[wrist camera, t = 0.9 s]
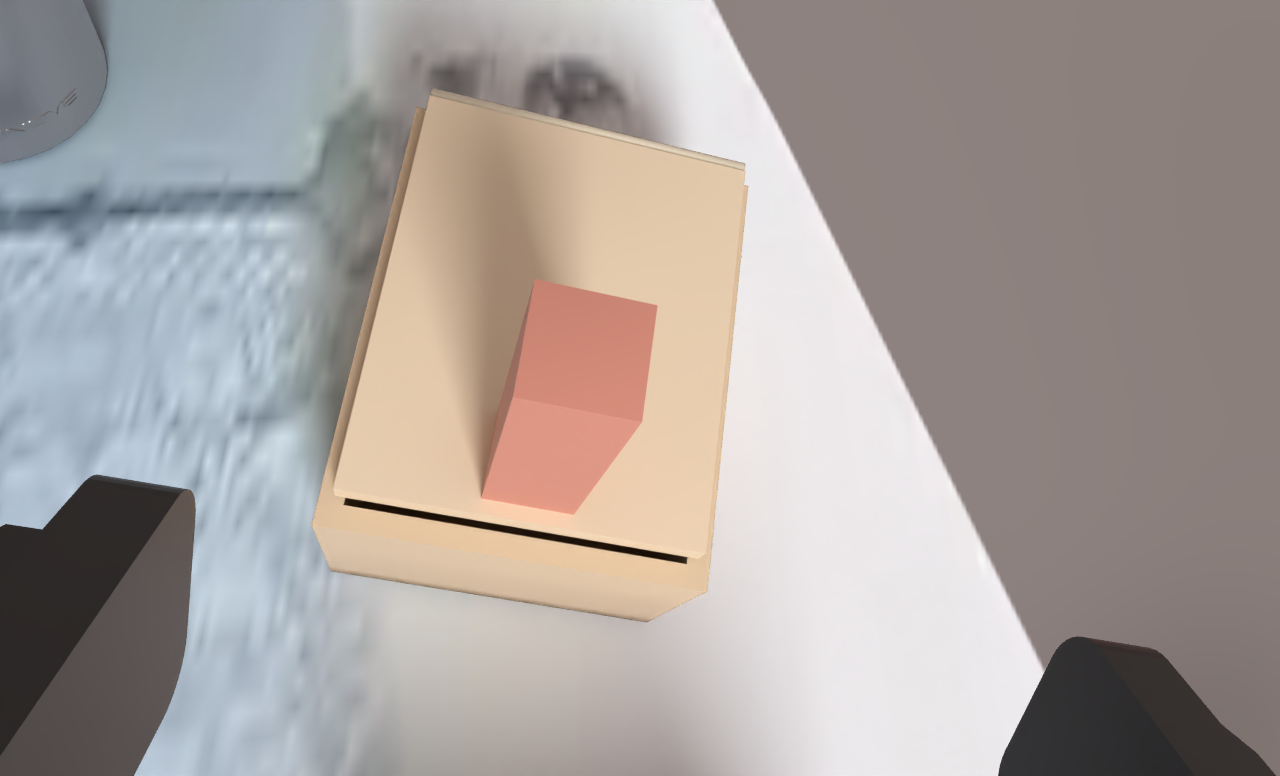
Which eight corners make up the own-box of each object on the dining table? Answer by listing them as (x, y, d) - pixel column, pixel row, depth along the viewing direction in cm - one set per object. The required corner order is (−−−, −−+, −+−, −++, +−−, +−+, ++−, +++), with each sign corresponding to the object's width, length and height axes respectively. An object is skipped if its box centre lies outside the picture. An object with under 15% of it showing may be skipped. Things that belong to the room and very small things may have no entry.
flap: (697, 558, 33) (824, 478, 23) (335, 495, 32) (302, 378, 21) (738, 171, 39) (855, -29, 29) (432, 98, 37) (442, -145, 27)
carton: (646, 622, 42) (707, 591, 33) (330, 571, 40) (311, 525, 31) (688, 283, 47) (748, 185, 39) (414, 223, 45) (416, 107, 37)
